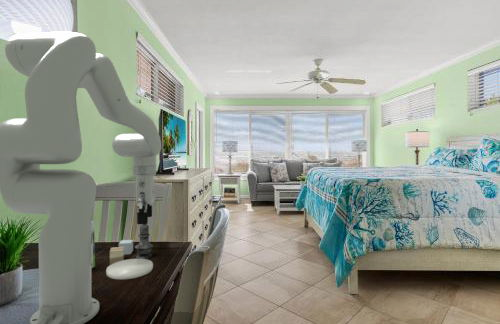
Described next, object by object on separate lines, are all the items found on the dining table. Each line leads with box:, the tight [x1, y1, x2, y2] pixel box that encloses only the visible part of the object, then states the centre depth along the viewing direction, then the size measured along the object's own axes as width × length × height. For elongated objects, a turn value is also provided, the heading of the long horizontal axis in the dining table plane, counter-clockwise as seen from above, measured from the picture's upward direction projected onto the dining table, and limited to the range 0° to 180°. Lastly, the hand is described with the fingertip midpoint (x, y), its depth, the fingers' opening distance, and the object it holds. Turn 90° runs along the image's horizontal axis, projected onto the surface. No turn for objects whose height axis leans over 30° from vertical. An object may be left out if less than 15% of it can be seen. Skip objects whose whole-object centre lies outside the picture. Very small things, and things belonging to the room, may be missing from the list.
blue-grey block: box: [118, 239, 134, 256], centre depth 103 cm, size 4×4×4 cm
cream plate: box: [105, 258, 154, 280], centre depth 88 cm, size 13×13×1 cm
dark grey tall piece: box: [134, 223, 154, 260], centre depth 100 cm, size 6×6×12 cm
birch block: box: [109, 246, 125, 265], centre depth 95 cm, size 4×4×4 cm
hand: (145, 220), depth 100 cm, fingers open, 9 cm apart
